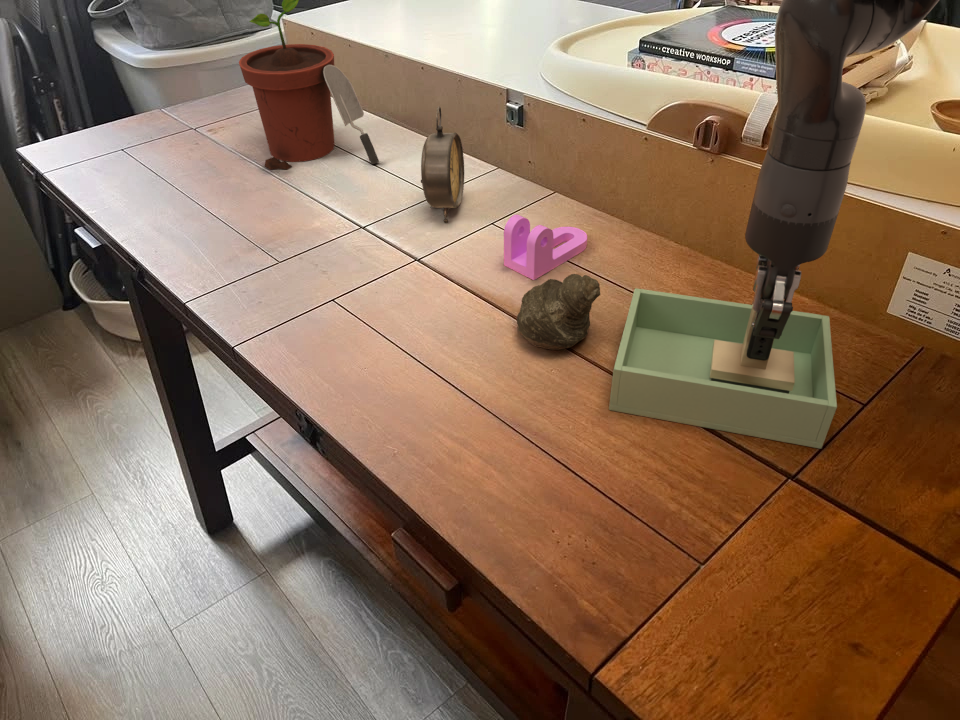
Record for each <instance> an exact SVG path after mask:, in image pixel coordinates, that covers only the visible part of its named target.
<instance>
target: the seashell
mask: <svg viewBox="0 0 960 720" xmlns="http://www.w3.org/2000/svg"><path fill="white" fill-rule="evenodd" d="M600 296H601V285H600V283H599V281H598V280H597V279H595V278H593V277H591V276H589V275H588V274H587V275H586V274H584V275H583V276H582V275H580V274H577V273H570V275H567V276H566V277H565V278H563V280H562V281H561V280H558V279H553V278H548V279H547V280H545V281H544V282H543V283H541V284H538V285H535V286H533V287H532V288H531V289H529V290H527V292H526V293H524V294H523V296H522V298H521V305H520V309H519V312H518V313H517V314H516V324H517V332H519V333H520V334H521V336H523V338H524V339H525V340H526V341H528V342H529V343H530V344H531V345H533V346H535V347H537V348H543V349H546V350H553V351H558V350H565V349H569V348H572V347H574V346H575V345H576V344H577V343H580V342H581V341H582V340H583V339H585V338H586V336H587V335H588V332H589V329H590V326H591V320H590V312H591V310H592V306H593V303H594V302H595V301H596V299H598V298H599V297H600Z"/></svg>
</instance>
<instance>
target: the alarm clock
mask: <svg viewBox="0 0 960 720" xmlns="http://www.w3.org/2000/svg"><path fill="white" fill-rule="evenodd" d="M435 124H436V128H435V130H436V132H433V133H430V134H429V135H428V136H427V137H426V139H425V140H424V142H423V146H422V151H421V158H420V176H421V179H420V183H421V187H422V191H423V195H424V198H425V200H426V202H427V204H428V205H429V206H430V207H429V208H430V209H431V208H435V209H443V218H444V219H443V223H444V224H447V223H448V222H449V221H448V217H449V209H457V208H459V207H460V205H461V203H462V201H463V195H464V189H465V188H464V187H465V157H464V149H463V143H462V139H461V137H460V135H459V133H457V132H443V126H442V109H441V105H440V106H439V105H438V106H437V108H436V116H435Z"/></svg>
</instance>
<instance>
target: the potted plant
mask: <svg viewBox="0 0 960 720" xmlns="http://www.w3.org/2000/svg"><path fill="white" fill-rule="evenodd" d="M299 1H300V0H282V2H281V9H282V10H283V11H282V12H281V13H280V14H279V15H278V17H277V19H276V21H270V17H269V16H268V15H267V14H266V13H258V14H256V16H254V17H253V18H252V19H250V20H249V21H248V22H249V23H252V24H255V25H257V26H259V27H264V28H267V27H269V26H270V25H271V24H272V25H275V26H277V29H278V33H279V37H280V38H279V39H280V41H281V45H279V44H278V45H273V46H268V47H263V48H259V49H256V50H253V51H251V52H248V53H246V54H245V55H244V56H242V57H241V58H240V59H239V60H238V64H239V68H240V71H241V74H242V77H243V80H244V83H245V84H247V85H248V86H250V87H252V92H253V95H254V98H255V101H256V105H257V108H258V113H259V116H260V121H261V124H262V127H263V131H264V135H265V138H266V142H267V145H268V149H269V152H270V155H271V156H272V157H270V158H266V159H265V162H264V167H265V168H266V169H267V170H270V171H272V170H284V171H285V170H289V169H291V168H292V165H291V164H290V163H291V162H292V163H296V162H297V163H301V162H308V161H314V160H317V159H320V158H323V157H325V156H327V155H329V154H331V152H332V151H333V150H334V149H335V144H336V143H335V133H334V132H335V131H334V121H333V107H332V100H333V102H334V104H335V106H336V108H337V111H338V113H339V116H340V117H341V120H342V122H343V124H344V126H345V127H347V126H348V125H349V124H350V127H352V128H353V129H355V130H357V131H359V132H360V134H361V135H359V140H360V141H361V144H362V146H363V148H364V151H365V153H366V156H367V158H368V160H369V163H370V165H375V164H377V163H379V161H380V160H379V158H378V157H379V156H378V155H377V153H376V150H375V148H374V145H373V142H372V140H371V138H370V136H369V134H368V132H366V133H365V131H364V130H363V128H361V127H360V126H358V125H355V124H354V122H355V121H358V120H359V119H361V118H363V117H364V115H365V111H364V109H363V107H362V105H361V103H360V100H359V97H358V95H357V93H356V90H355V88H354V86H353V83H352V82H351V80H350V79H349V78H348V77H347V76H346V74H345V73H344V72H343V71H342V70H341V69H340V68H339V67H338V66H336V65H335V54H334V52H333V51H332V50H331V49H329V48H327V47H325V46H322V45H317V44H306V43H294V44H293V43H292V44H288V43H287V44H286V41H285V37H284V34H283V31H282V27H281V18H282V17H283V16H284V15H285V14H286V13H290V12H292V11H293V10H295V8H297V5H298V3H299ZM288 162H290V163H288Z"/></svg>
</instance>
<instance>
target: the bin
mask: <svg viewBox="0 0 960 720" xmlns="http://www.w3.org/2000/svg"><path fill="white" fill-rule="evenodd" d="M752 305H753V304H750V303H749V304H748V303H741V302H735V301H728V300H722V299H721V300H720V299H713V298H707V297H700V296H693V295H686V294H678V293H672V292H664V291H658V290H651V289H645V288H644V289H643V288H636V287H635V288H634V290H633V294H632V297H631V302H630V305H629V309H628V313H627V316H626V320H625V324H624V328H623V332H622V335H621V339H620V343H619V347H618V351H617V355H616V357H615V358H616V359H615V361H614V366H613V369H612V380H611V388H610V395H609V405H608V410H609V411H611V412H612V411H613V412H617V413H618V412H619V413H623V414H628V415H634V416H641V417H646V418H650V419H656V420H662V421H667V422H673V423H679V424H683V425H688V426H694V427H699V428H705V429H711V430H717V431H721V432H726V433H733V434H737V435H742V436H749V437H754V438H760V439H766V440H769V441H770V440H771V441H776V442H780V443H781V442H782V443H787V444H791V445H799V446H804V447H807V448H808V447H809V448H815V449H820V450H822V449H823V446H824V443H825V441H826V438H827V435H828V433H829V431H830V427H831V424H832V422H833V419H834V416H835V414H836V411H837V409H838V403H837V391H836V377H835V369H834V357H833V355H834V354H833V346H832V344H833V343H832V334H831V322H830V321H831V320H830V315H824V314H818V313H811V312H805V311H798V310H793V311H792V312H791V314H790V316H789V318H788V321H787V323H786V325H785V327H784V329H783V332H782V335H781V336H780V338H779V339H774V342H773V345H772V349H778V350H785V351H791V352H794V375H795V384H794V387H793V390H792V391H790V392H789V394H787V393H781V392H775V391H769V390H763V389H757V388H751V387H746V386H740V385H734V384H728V383H722V382H716V381H710V370H711V359H712V349H713V344H714V340H720V341H726V342H733V343H739V344H743V342H744V338H745V333H746V329H747V325H748V321H749V317H750V313H751V309H752Z"/></svg>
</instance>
